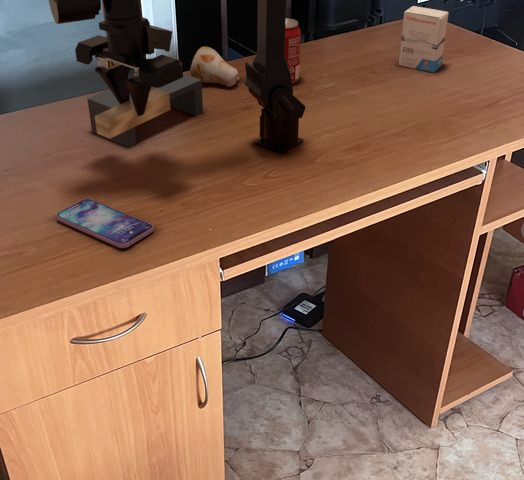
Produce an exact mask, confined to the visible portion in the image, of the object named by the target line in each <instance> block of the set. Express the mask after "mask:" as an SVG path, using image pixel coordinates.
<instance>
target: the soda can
mask: <svg viewBox="0 0 524 480" xmlns="http://www.w3.org/2000/svg"><path fill="white" fill-rule="evenodd" d="M301 41H302V31H301V29H300V27H299V22H298V20H297V19H294V18H287V17H286V30H285V58H286V61H287V64H288V67H289V70H290V73H291V78H292V84H294V83H296V82H298V81H299V79H300V71H301V68H300V67H301V47H302V45H301V43H302V42H301Z"/></svg>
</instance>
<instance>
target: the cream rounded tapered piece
mask: <svg viewBox="0 0 524 480" xmlns="http://www.w3.org/2000/svg"><path fill="white" fill-rule="evenodd" d="M189 73H190V76H192V77H195V78H198V79H201V80H202V83H204V84H205V83H206V84H220V85H223V86H225V87H228V88H231V87H234V85H235V84H237V82H239V81H240V77H239V72H238V70H237V68H235V67H234V66H232V65H229V64H228V63H227V62H226V61H225V60H224V59H223V57H222V56H221V55H220V54H219V53H218V52H217V51H216V50H215V49H214V48H212V47H209V46H201V47H200V48H198V50H197V51H196V52H195V54H194V55H193V59H192V62H191V65H190V69H189Z"/></svg>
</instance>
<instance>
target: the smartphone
mask: <svg viewBox="0 0 524 480" xmlns="http://www.w3.org/2000/svg"><path fill="white" fill-rule="evenodd" d="M55 218H56V220H57V221H58V222H61V223H62V224H65V225H67V226H69V227H72V228H74V229H76V230H78V231H81V232H82V233H85V234H88V235H90V236H92V237H94V238H96V239H98V240H101V241H103V242H106V243H107V244H110V245H112V246H114V247H117V248H119V249H126V248H129V247H130V246H132V245H133V244H135V243H137V242H139V241H140V240H142V239H143V238H144V239H145V237H147V236H148V235H150V234H152V233H153V232H154V225H153V223H150V222H148V221H146V220H143V219H140V218H139V217H136V216H133V215H130V214H128V213H126V212H124V211H121V210H119V209H116V208H114V207H112V206H110V205H107V204H105V203H102V202H99V201H97V200H94V199H93V198H83V199H81V200H78V201H76V202H75V203H73V204H71V205H69V206H67V207H65V208H64V209H62V210H60V211H58V212H56V214H55Z"/></svg>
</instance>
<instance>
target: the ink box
mask: <svg viewBox="0 0 524 480" xmlns="http://www.w3.org/2000/svg"><path fill="white" fill-rule="evenodd" d="M448 19H449V11H445V10H440V9H433V8H429V7H423V6H416V5H412V6H410V7H409V8H408V9H406V10H405V11H404V12H403V18H402V27H401V28H402V29H401V37H400V38H401V39H400V48H399V56H398V57H399V58H398V65H399V66H400V67H405V68H409V69H415V70H418V71H424V72H428V73H435V72H437V70H439V69H440V68H441V67H442V64H443V56H444V49H445V42H446V36H447V27H448Z"/></svg>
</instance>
